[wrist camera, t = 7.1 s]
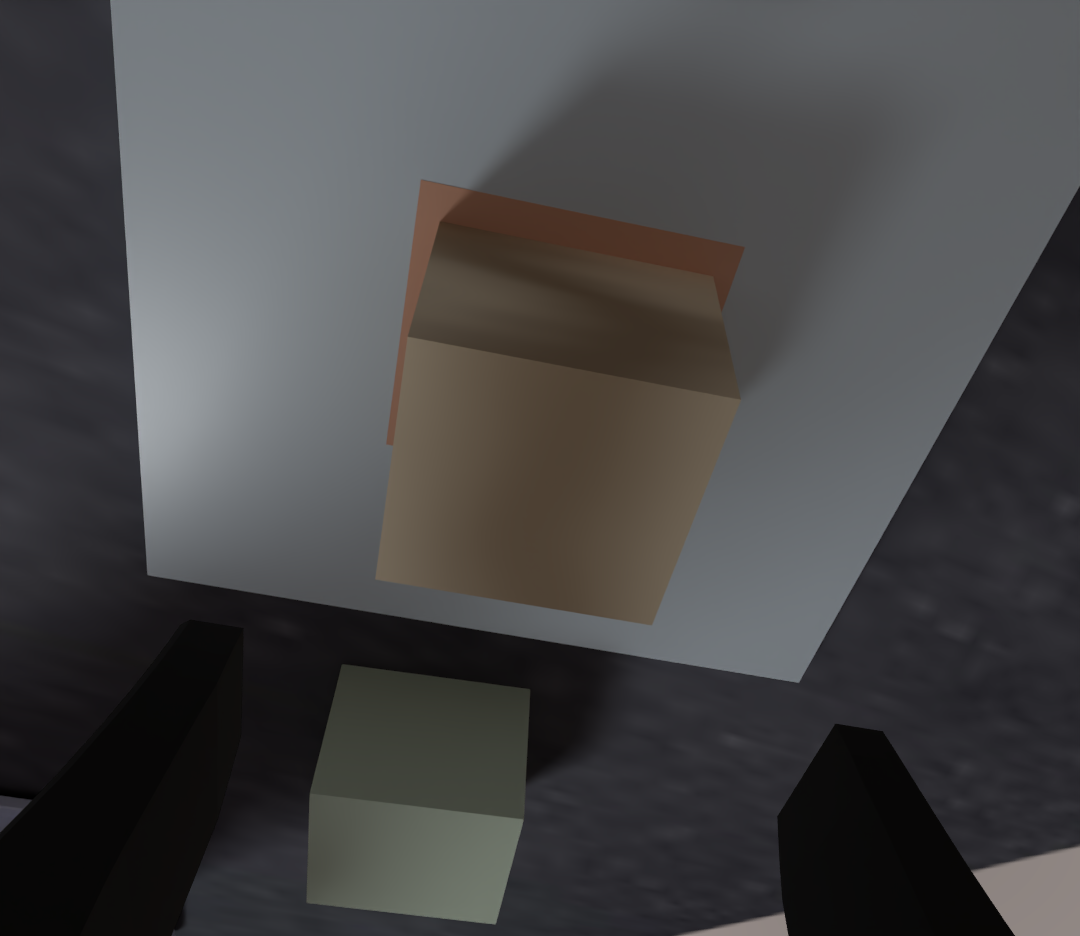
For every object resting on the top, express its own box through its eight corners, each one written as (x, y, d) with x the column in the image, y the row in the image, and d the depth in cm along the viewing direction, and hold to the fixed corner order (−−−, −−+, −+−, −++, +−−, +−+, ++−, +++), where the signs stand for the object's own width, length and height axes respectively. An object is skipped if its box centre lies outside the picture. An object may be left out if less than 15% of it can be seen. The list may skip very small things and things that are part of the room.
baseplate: (156, 557, 23) (147, 575, 23) (110, -258, 14) (93, -256, 13) (794, 664, 25) (799, 682, 24) (1161, -1, 15) (1180, 8, 15)
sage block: (336, 771, 29) (306, 903, 26) (343, 660, 26) (309, 793, 23) (504, 792, 29) (495, 924, 26) (530, 684, 26) (523, 819, 23)
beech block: (407, 443, 20) (375, 579, 17) (440, 221, 17) (407, 336, 14) (641, 485, 21) (652, 625, 18) (712, 275, 18) (740, 400, 15)
